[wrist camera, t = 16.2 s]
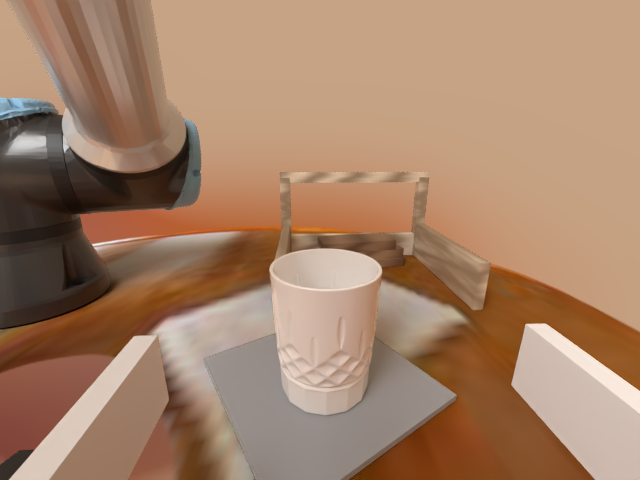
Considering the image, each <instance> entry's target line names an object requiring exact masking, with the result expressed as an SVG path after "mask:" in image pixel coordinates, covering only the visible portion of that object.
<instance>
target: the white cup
mask: <svg viewBox="0 0 640 480" xmlns="http://www.w3.org/2000/svg"><path fill="white" fill-rule="evenodd" d="M269 271H270V281H271V292H272V303H273V313H274V324H275V333H276V339H277V351H278V356H279V360H280V367H281V379H282V388H283V390H284V392H285V394H286V395H287V397H288V399H289V401H290V402H291V403H292V404H294V405H295V406H297V407H298V408H300V409H302V410H303V411H305V412H308V413H313V414H319V415H325V416H327V415H332V414H337V413H342V412H346V411H348V410H349V409H351V408H352V407H353V406H355V405H356V404H357V403H359V402H360V401H361V400H362V398H363V395H364V393H365V390H366V388H367V384H368V374H369V365H370V362H371V357H372V351H373V342H374V336H375V329H376V321H377V312H378V303H379V294H380V285H381V277H382V267H381V265H380V264H379V263H378V262H377V261H376V260H374V259H373V258H371V257H369V256H366V255H364V254H361V253H357V252H353V251H348V250H341V249H307V250H301V251H296V252H292V253H289V254H286V255H283V256H281V257H279V258H277V259H276V260H275V261H273V263H272V264H271V265H270V268H269Z"/></svg>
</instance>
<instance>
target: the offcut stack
mask: <svg viewBox="0 0 640 480" xmlns="http://www.w3.org/2000/svg"><path fill="white" fill-rule="evenodd" d="M318 246H319V248H320V249H341V250H348V251H353V252H357V253H361V254H364V255H366V256H369V257H371V258H373V259H374V260H376V261H377V262H378V263H379V264H380V265H381V267H382V268H384V267H394V266H403V264H404V258H403V252H404V248H402V247H400V246H399V245H397V244H396V240H395V239H394V238H392V237H391V236H389V235H387V234H386V233H367V234H348V235H330V236H318Z"/></svg>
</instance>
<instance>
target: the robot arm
mask: <svg viewBox="0 0 640 480" xmlns="http://www.w3.org/2000/svg"><path fill="white" fill-rule="evenodd" d="M6 1H7V2H8V4H9V6H10V8H11V10H12V11H13V13H14V15H15V17H16V18H17V20H18V22H19V24H20V25H21V27H22V29H23V31H24V33H25V34H26V36H27V38H28V40H29V41H30V43H31V45H32V47H33V48H34V50H35V52H36V54H37V55H38V57H39V59H40V61H41V62H42V64H43V66H44V68H45V69H46V71H47V73H48V74H49V77H50V78H51V80H52V82H53V84H54V85H55V87H56V89H57V91H58V92H59V94H60V96H61V98H62V100H63V101H64V103H65V105H66V107H67V108H66V110H65V112H64V115H59V113H58V111H57V110H56V109H55V107H54V105H52V104H51V103H49V102H47V101H43V100H36V99H27V98H13V99H12V98H2V97H0V328H6V327H12V326H18V325H23V324H27V323H32V322H36V321H40V320H43V319H47V318H50V317H53V316H57V315H60V314H63V313H65V312H68V311H71V310H73V309H76V308H78V307H80V306H83V305H85V304H87V303H89V302H91V301H93V300H94V299H96V298H98V297H99V296H101V295H102V294H103V293H105V292H106V291H107V290H108V288H109V287H110V285H111V282H110V277H109V272H108V269H107V267H106V265H105V264H104V262H103V261H102V259H101V258H100V256H99V255H98V253H97V252H96V250H95V249H94V247H93V246H92V244H91V243H90V241H89V240H88V238H87V237H86V235H85V234H84V232H83V228H82V224H81V219H80V214H89V213H102V212H117V211H134V210H149V209H166V210H172V209H174V208H178V207H187V206H190V205H192V204H194V203H195V202H196V201H197V199H198V196H199V193H200V186H201V174H200V170H201V150H200V141H199V135H198V131H197V127H196V125H195V124H194V123H193V122H192V121H189V120H186V119H184V118H183V117H182V115H181V113H180V111H179V110H178V109H177V107H176V106H175V105H174V104H173V103H172V102H171V101H169V100H168V99H167V97H166V91H165V85H164V79H163V73H162V67H161V61H160V55H159V48H158V42H157V37H156V30H155V25H154V18H153V13H152V7H151V0H6ZM511 385H512V386H513V388H514V389H515V390H516V391H517V392H518V393H519V394H520V396H521V397H522V398H523V399H524V400H525V401H526V402H527V403H528V405H529V406H530V407H531V408H532V409H533V410H534V411H535V412H536V414H537V415H538V416H539V417H540V418H541V419H542V420H543V421H544V423H545V424H546V425H547V426H548V427H549V428H550V429H551V430H552V432H553V433H554V434H555V435H556V436H557V437H558V438H559V440H560V441H561V442H562V443H563V444H564V445H565V446H566V447H567V449H568V450H569V451H570V452H571V453H572V454H573V455H574V456H575V458H576V459H577V460H578V461H579V462H580V463H581V464H582V465H583V467H584V468H585V469H586V470H587V471H588V472H589V473H590V474H591V476H592V477H593V478H594V479H595V480H640V391H639V390H637V389H636V388H635V387H633V386H632V385H630V384H629V383H628V382H626V381H625V380H623V379H622V378H621V377H619V376H618V375H616V374H615V373H614V372H612V371H611V370H610V369H608V368H607V367H605V366H604V365H603V364H601V363H600V362H598V361H597V360H596V359H594V358H593V357H591V356H590V355H589V354H587V353H586V352H585V351H583V350H582V349H580V348H579V347H578V346H576V345H575V344H573V343H572V342H571V341H569V340H568V339H566V338H565V337H564V336H562V335H561V334H560V333H558V332H557V331H555V330H554V329H553V328H551V327H550V326H548V325H547V324H546V323H545V324H526V325H525V330H524V334H523V338H522V342H521V346H520V350H519V355H518V359H517V363H516V367H515V371H514V375H513V380H512V384H511ZM168 401H169V397H168V391H167V386H166V380H165V374H164V369H163V363H162V357H161V351H160V346H159V340H158V335H152V336H134V337H133V338H132V339H131V340H130V342H129V343H128V344H127V345H126V346H125V347H124V348H123V350H122V351H121V352H120V353H119V354H118V355H117V356H116V358H115V359H114V360H113V361H112V362H111V363H110V365H109V366H108V367H107V368H106V369H105V370H104V371H103V373H102V374H101V375H100V376H99V377H98V378H97V380H96V381H95V382H94V383H93V384H92V385H91V386H90V387H89V389H88V390H87V391H86V392H85V393H84V394H83V395H82V397H81V398H80V399H79V400H78V401H77V402H76V404H75V405H74V406H73V407H72V408H71V409H70V410H69V412H68V413H67V414H66V415H65V416H64V417H63V418H62V420H61V421H60V422H59V423H58V424H57V425H56V426H55V428H54V429H53V430H52V431H51V432H50V433H49V434H48V436H47V437H46V438H45V439H44V440H43V441H42V442H41V444H40V445H39V446H38V447H37V448H36V449H35V450H20V451H18V452H17V453H15V454H14V455H13V456H11V457H10V458H9V459H7V460H6V461H5V462H4V463H2V464H1V465H0V480H128V478H129V477H130V475H131V473H132V471H133V469H134V467H135V465H136V463H137V461H138V459H139V457H140V455H141V453H142V451H143V450H144V448H145V446H146V444H147V442H148V440H149V438H150V436H151V434H152V432H153V430H154V428H155V426H156V424H157V422H158V420H159V418H160V417H161V415H162V413H163V411H164V409H165V407H166V405H167V403H168Z"/></svg>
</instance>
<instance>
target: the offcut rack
mask: <svg viewBox="0 0 640 480" xmlns="http://www.w3.org/2000/svg"><path fill="white" fill-rule="evenodd" d="M299 182H300V183H303V182H304V183H310V182H311V183H313V182H314V183H320V182H322V183H323V182H325V183H326V182H327V183H328V182H416V187H415V198H414V210H413V220H412V231H411V232H399V233H386V234H387V235H389V236H391V237H392V238H394V239H395V240H396V244H397V245H399V246H400V247H402V248H404V252H403V255H414V256H415V257H416V258H417V259H418V260H419V261H420V262H421V263H422V264H423V265H425V266H426V267H427V268H428V269H429V270H430V271H431V272H432V273H433V274H434V275H435V276H437V277H438V278H439V279H440V280H441V281H442V282H443V283H444V284H445V285H446V286H447V287H448V288H450V289H451V290H452V291H453V292H454V293H455V294H456V295H457V296H458V297H459V298H460V299H461V300H463V301H464V302H465V303H466V304H467V305H468V306H469V307H470V308H471V309H472V310H483V305H484V300H485V294H486V288H487V282H488V277H489V271H490V265H491V263H490V262H488V261H486V260H485V259H483V258H481V257H480V256H478V255H476V254H474V253H473V252H471V251H469V250H468V249H466V248H464V247H463V246H461V245H459V244H458V243H456V242H454V241H452V240H451V239H449V238H447V237H446V236H444V235H442V234H440V233H439V232H437V231H435V230H434V229H432V228H430V227H429V226H427V225H425V224H424V222H425V212H426V203H427V193H428V183H429V172H280V195H281V224H282V230H281V235H280V239H279V243H278V248H277V252H276V256H275V260H276V259H277V258H279V257H281V256H283V255H286V254H289V253H292V252H296V251H301V250H307V249H320V248H319V246H318V236H330V235H348V234H367V233H329V234H291V201H290V200H291V199H290V183H299Z"/></svg>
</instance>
